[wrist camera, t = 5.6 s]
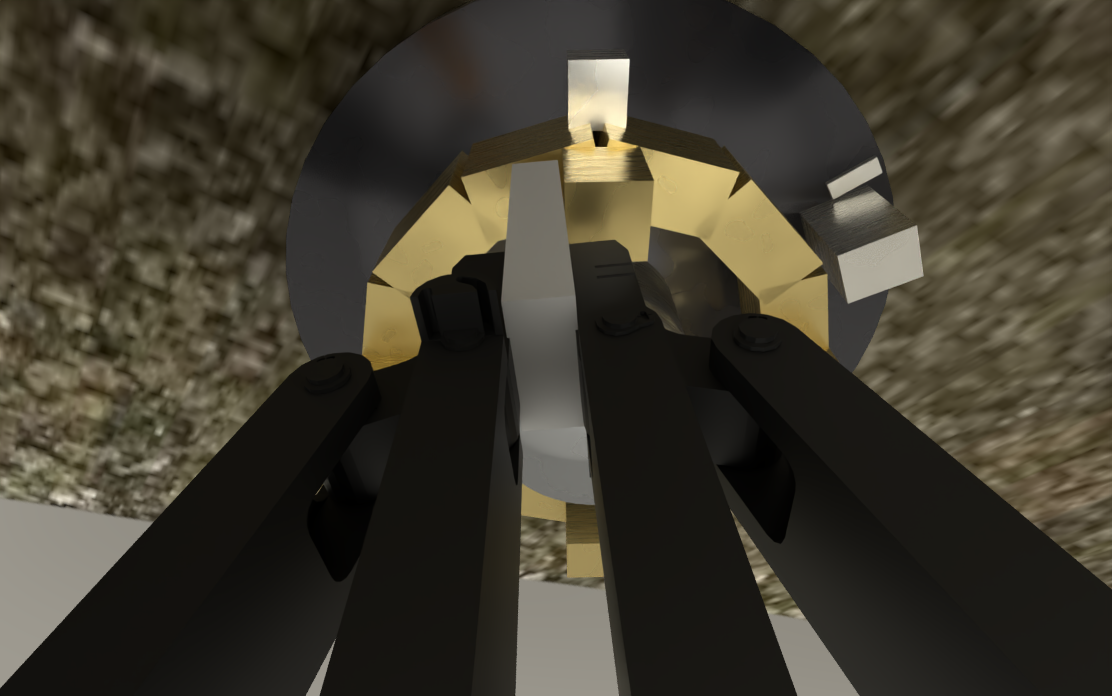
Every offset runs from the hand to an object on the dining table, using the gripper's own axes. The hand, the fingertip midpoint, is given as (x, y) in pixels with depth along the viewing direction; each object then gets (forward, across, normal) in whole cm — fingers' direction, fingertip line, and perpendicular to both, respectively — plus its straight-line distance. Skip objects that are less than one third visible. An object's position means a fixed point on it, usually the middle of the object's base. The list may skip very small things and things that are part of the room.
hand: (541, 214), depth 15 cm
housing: (+6, +1, -6) cm, 9 cm away
